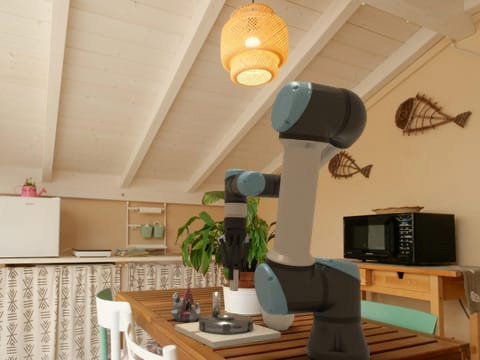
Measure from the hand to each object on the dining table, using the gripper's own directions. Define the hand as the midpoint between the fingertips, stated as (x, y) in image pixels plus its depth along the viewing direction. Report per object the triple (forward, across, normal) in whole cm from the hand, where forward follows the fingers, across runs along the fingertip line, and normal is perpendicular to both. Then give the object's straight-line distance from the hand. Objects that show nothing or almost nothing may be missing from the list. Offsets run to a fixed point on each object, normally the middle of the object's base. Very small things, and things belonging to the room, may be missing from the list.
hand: (233, 290), depth 132 cm
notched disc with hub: (+9, +7, +7) cm, 13 cm away
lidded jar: (+12, -11, +9) cm, 18 cm away
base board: (+11, +7, +7) cm, 15 cm away
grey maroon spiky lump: (+12, +8, -18) cm, 23 cm away
